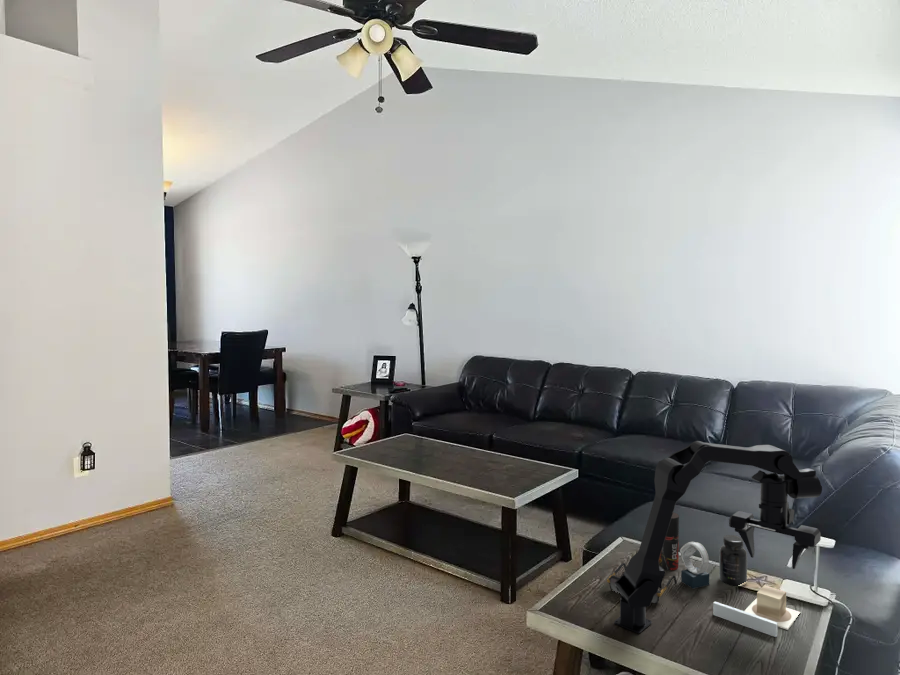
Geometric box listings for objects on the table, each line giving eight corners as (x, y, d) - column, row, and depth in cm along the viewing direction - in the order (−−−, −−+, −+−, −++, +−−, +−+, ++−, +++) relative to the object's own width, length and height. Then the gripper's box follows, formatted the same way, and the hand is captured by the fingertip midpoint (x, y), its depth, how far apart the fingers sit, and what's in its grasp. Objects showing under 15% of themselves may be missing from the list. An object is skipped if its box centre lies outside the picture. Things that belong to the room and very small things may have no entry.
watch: (692, 575, 167) (692, 536, 166) (714, 587, 159) (714, 547, 158) (675, 578, 165) (676, 539, 164) (697, 591, 157) (697, 550, 156)
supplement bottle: (720, 573, 167) (721, 531, 166) (748, 579, 164) (748, 536, 163) (717, 583, 161) (718, 540, 161) (745, 589, 158) (746, 545, 157)
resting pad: (787, 630, 139) (787, 628, 138) (742, 614, 146) (742, 612, 146) (800, 613, 146) (800, 611, 146) (756, 599, 153) (756, 597, 153)
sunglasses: (676, 585, 162) (677, 567, 161) (659, 609, 150) (659, 589, 149) (626, 571, 170) (626, 554, 170) (605, 593, 158) (605, 575, 157)
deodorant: (663, 559, 177) (664, 509, 176) (682, 566, 172) (683, 515, 171) (652, 565, 173) (652, 514, 172) (671, 572, 168) (671, 520, 167)
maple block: (779, 619, 142) (779, 599, 142) (756, 612, 145) (757, 592, 145) (785, 611, 146) (786, 591, 145) (763, 604, 149) (764, 585, 149)
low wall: (775, 637, 136) (776, 624, 136) (713, 614, 146) (713, 602, 145) (777, 635, 136) (777, 622, 136) (714, 613, 146) (714, 601, 146)
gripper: (827, 499, 143) (826, 563, 144) (744, 483, 156) (744, 542, 157) (814, 511, 135) (813, 579, 136) (728, 493, 148) (727, 555, 149)
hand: (772, 562), depth 145 cm, fingers open, 9 cm apart
